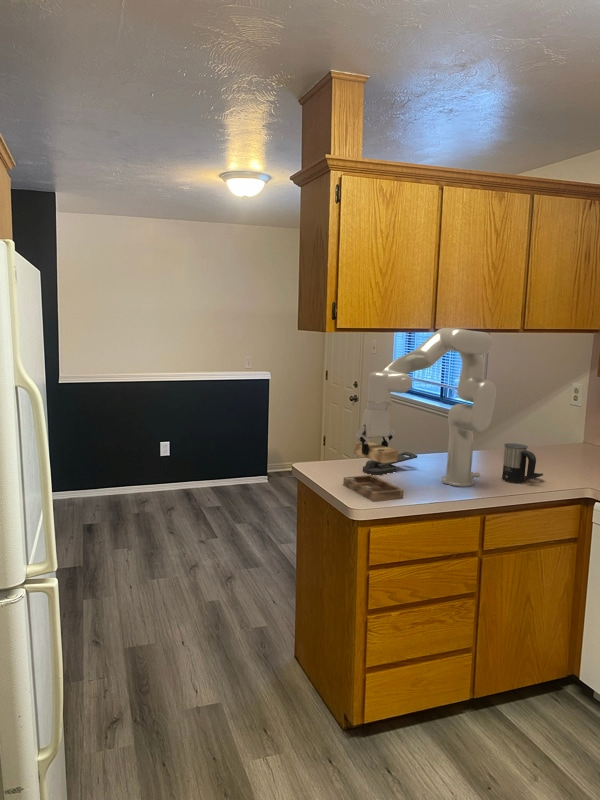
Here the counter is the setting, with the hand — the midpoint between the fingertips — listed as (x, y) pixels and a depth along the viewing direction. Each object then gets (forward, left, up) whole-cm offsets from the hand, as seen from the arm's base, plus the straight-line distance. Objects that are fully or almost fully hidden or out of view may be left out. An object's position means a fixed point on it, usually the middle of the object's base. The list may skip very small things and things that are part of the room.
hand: (374, 453), depth 221 cm
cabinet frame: (0, 0, -14) cm, 14 cm away
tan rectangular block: (0, +1, -1) cm, 1 cm away
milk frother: (-69, +5, -15) cm, 71 cm away
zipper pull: (-24, -24, -15) cm, 37 cm away
